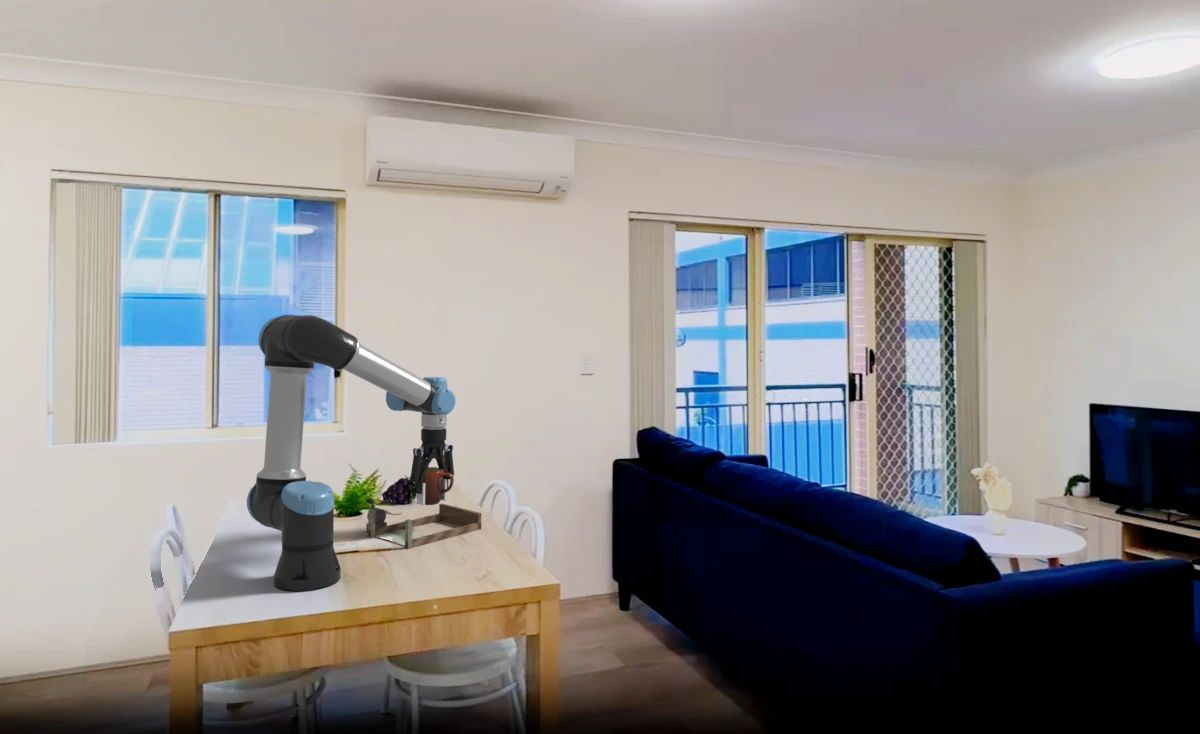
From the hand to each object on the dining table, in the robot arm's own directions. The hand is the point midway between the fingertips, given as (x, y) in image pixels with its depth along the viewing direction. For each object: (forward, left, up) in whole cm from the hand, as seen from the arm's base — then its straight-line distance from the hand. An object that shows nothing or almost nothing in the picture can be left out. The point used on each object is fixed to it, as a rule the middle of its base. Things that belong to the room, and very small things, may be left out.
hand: (432, 501), depth 222 cm
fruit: (+17, +36, -9) cm, 41 cm away
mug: (+1, 0, -1) cm, 1 cm away
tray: (-2, +3, -9) cm, 10 cm away
